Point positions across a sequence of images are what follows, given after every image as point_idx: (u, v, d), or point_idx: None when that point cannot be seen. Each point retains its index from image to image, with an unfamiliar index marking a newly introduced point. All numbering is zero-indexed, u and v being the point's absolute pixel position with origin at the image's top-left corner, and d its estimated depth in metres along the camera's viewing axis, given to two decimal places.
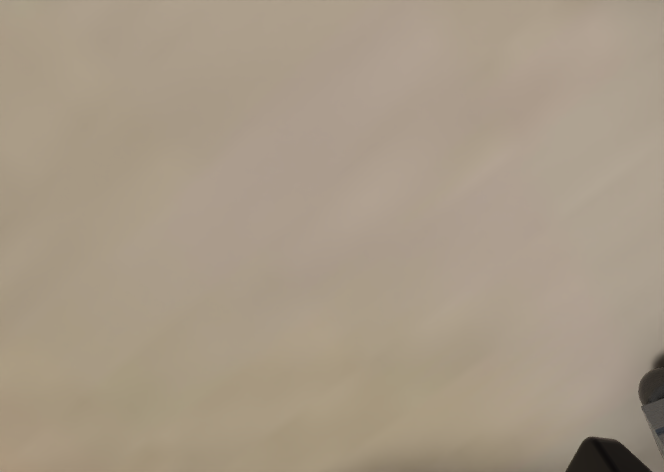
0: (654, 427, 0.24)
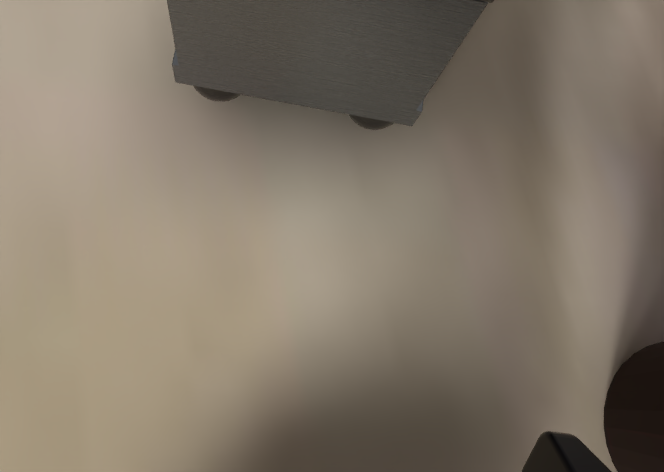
0: (173, 65, 0.20)
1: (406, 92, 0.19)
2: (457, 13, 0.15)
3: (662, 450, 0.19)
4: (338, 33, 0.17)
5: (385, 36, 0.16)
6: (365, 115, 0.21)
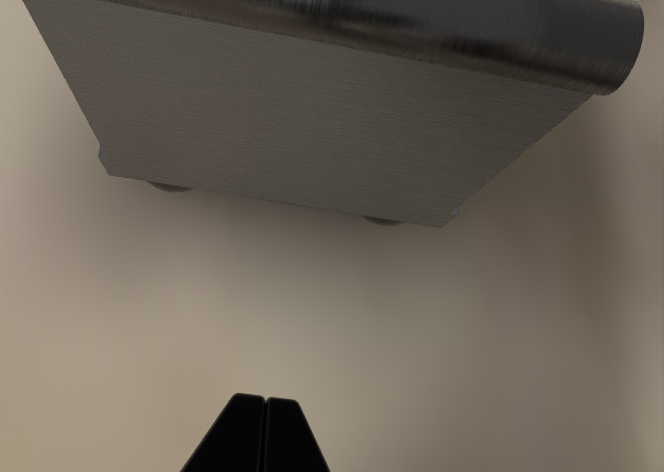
0: (100, 156, 0.14)
1: (438, 195, 0.13)
2: (537, 107, 0.09)
3: None
4: (339, 127, 0.11)
5: (413, 132, 0.10)
6: (376, 215, 0.15)
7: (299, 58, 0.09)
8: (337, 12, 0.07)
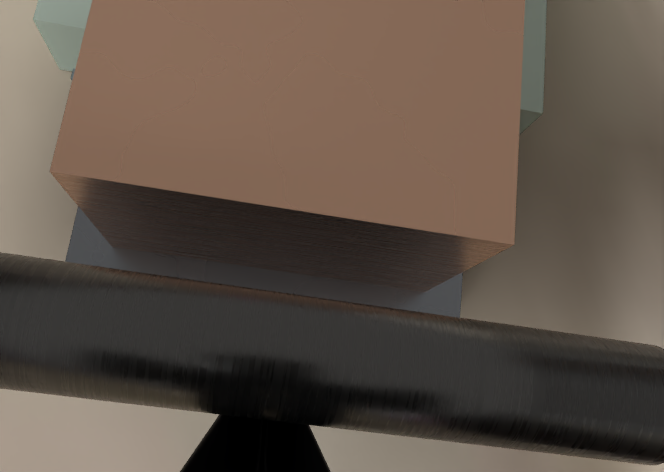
0: None
1: None
2: None
3: None
4: None
5: None
6: None
7: None
8: (290, 411, 0.06)
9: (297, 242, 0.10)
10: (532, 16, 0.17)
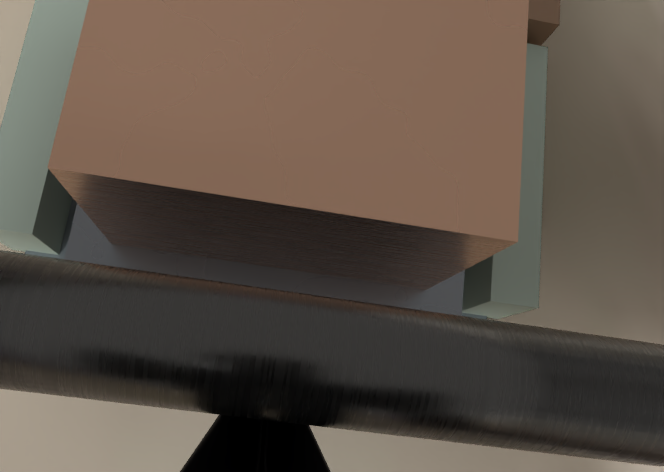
0: None
1: None
2: None
3: None
4: None
5: None
6: None
7: None
8: (291, 411, 0.06)
9: (299, 239, 0.10)
10: (527, 193, 0.16)
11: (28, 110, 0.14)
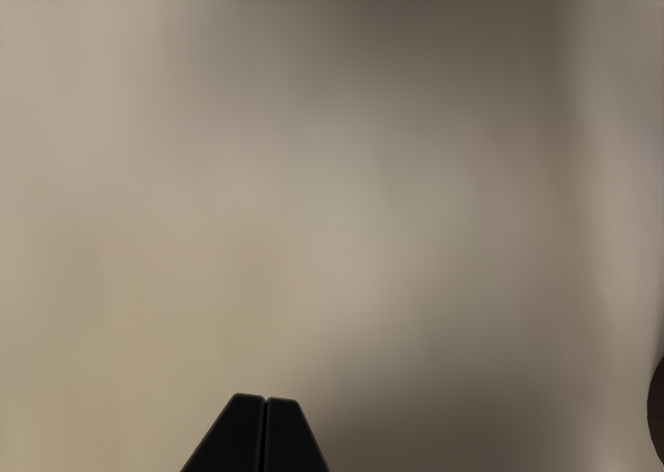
0: None
1: None
2: None
3: None
4: None
5: None
6: None
7: None
8: None
9: None
10: None
11: None
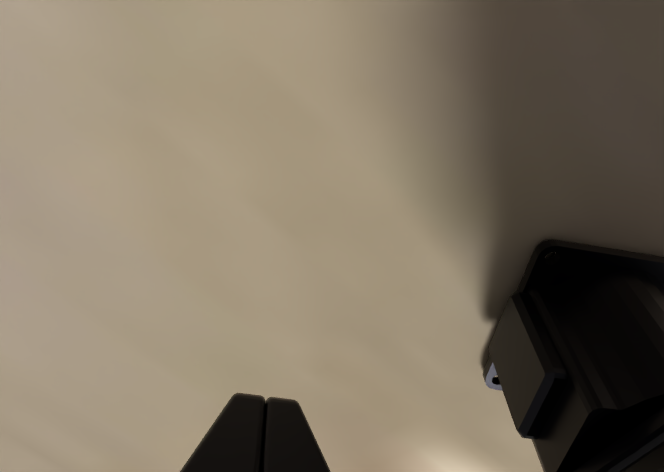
0: None
1: None
2: None
3: None
4: None
5: None
6: None
7: None
8: None
9: None
10: None
11: None
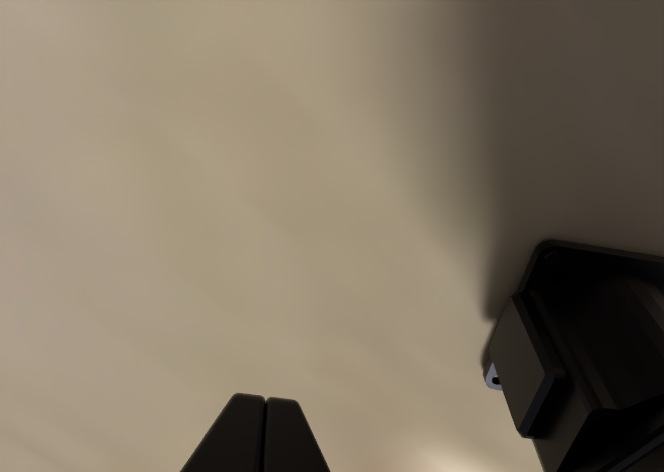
0: None
1: None
2: None
3: None
4: None
5: None
6: None
7: None
8: None
9: None
10: None
11: None
